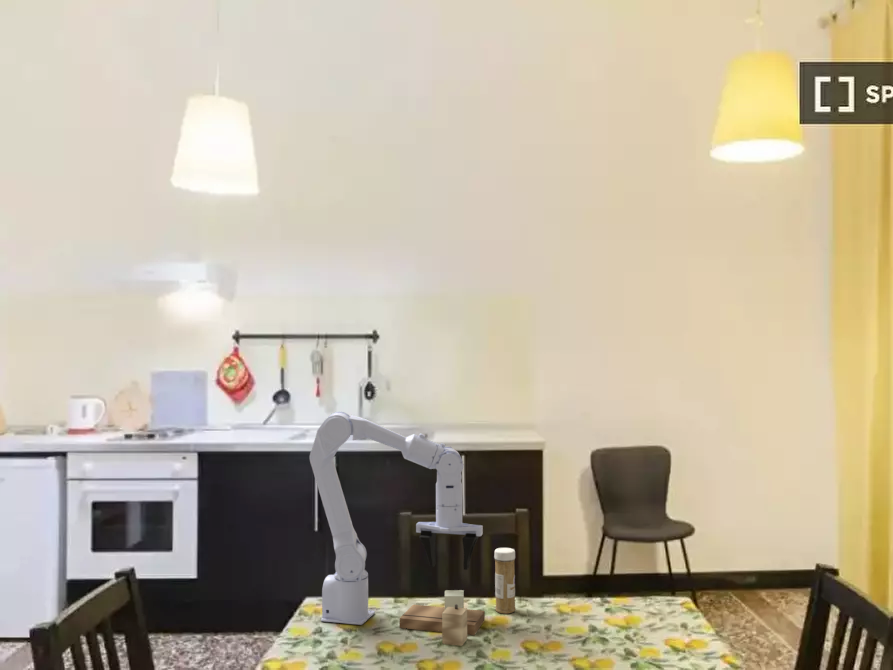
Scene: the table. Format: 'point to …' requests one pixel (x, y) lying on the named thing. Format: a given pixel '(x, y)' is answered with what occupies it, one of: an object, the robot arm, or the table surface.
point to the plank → (437, 619)
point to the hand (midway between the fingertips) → (449, 567)
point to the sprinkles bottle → (504, 580)
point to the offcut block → (454, 598)
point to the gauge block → (454, 626)
